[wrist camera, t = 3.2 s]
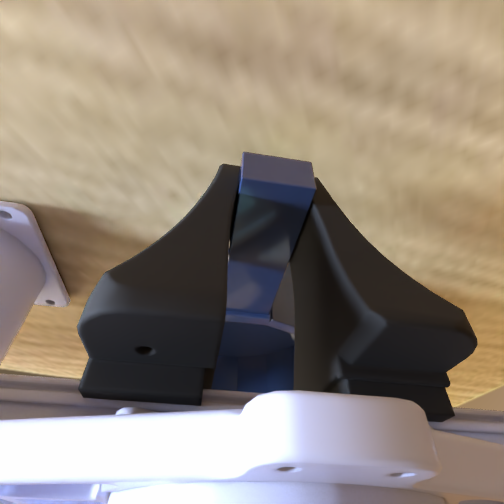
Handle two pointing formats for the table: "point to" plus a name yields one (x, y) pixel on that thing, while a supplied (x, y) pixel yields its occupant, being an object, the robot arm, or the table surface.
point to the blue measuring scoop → (263, 275)
